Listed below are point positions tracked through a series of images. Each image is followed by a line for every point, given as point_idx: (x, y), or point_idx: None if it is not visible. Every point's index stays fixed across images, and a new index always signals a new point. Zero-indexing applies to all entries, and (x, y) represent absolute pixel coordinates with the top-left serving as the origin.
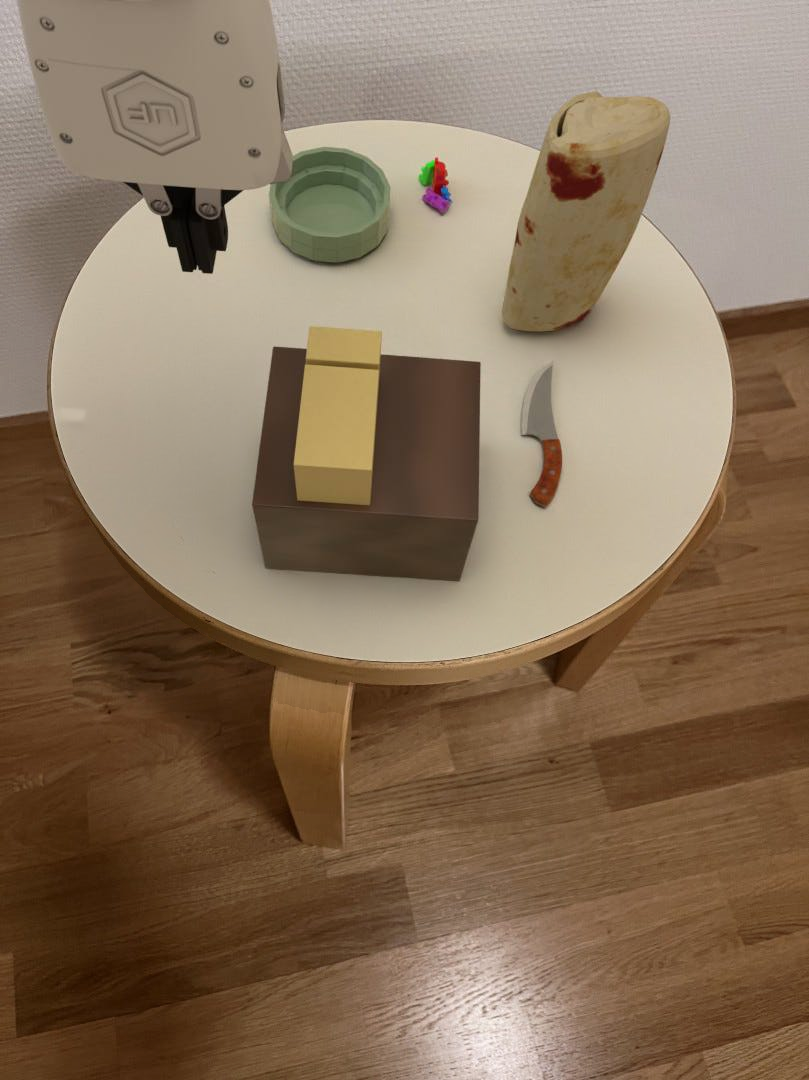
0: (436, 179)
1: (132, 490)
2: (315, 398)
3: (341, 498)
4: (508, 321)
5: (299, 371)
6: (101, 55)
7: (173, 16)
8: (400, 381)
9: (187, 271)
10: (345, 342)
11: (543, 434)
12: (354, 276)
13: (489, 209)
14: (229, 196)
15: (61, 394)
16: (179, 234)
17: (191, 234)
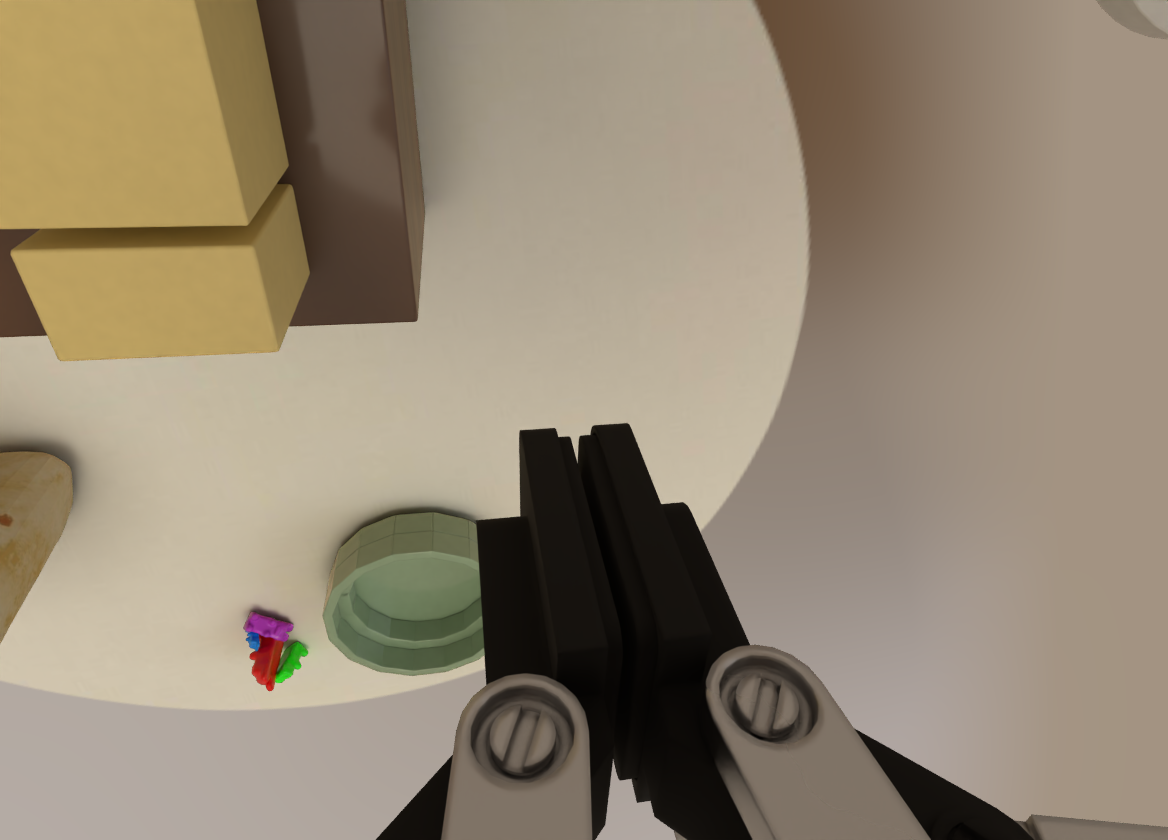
0: (267, 658)
1: (683, 44)
2: (164, 93)
3: None
4: (43, 463)
5: (339, 263)
6: None
7: None
8: None
9: (610, 425)
10: (153, 313)
11: None
12: (365, 498)
13: (182, 628)
14: (408, 834)
15: (802, 238)
16: (656, 567)
17: (603, 576)
